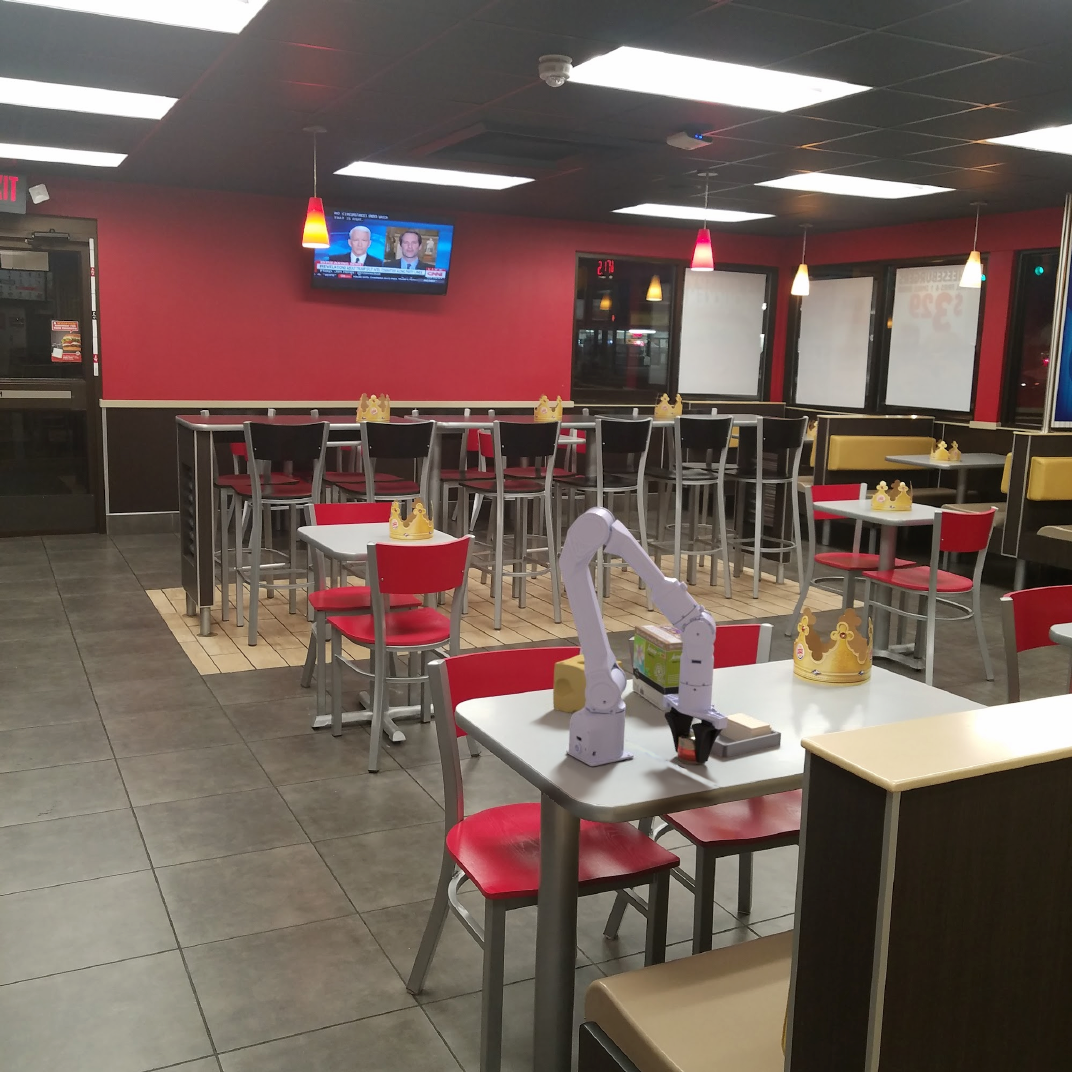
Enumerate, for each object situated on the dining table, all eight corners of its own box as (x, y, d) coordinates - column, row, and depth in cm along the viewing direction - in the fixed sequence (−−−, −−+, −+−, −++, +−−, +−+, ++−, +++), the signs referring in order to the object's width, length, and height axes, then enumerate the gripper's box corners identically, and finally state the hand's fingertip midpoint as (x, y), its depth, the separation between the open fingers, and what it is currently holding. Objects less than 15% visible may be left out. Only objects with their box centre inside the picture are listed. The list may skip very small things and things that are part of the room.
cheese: (593, 721, 205) (595, 671, 204) (549, 709, 212) (551, 661, 210) (622, 708, 214) (624, 661, 212) (578, 697, 220) (580, 651, 218)
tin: (689, 771, 180) (691, 743, 179) (671, 762, 184) (672, 735, 184) (711, 766, 183) (712, 739, 182) (692, 757, 187) (693, 730, 186)
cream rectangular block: (750, 747, 191) (752, 729, 190) (720, 734, 197) (721, 716, 197) (770, 743, 193) (771, 724, 193) (739, 730, 200) (740, 712, 200)
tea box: (630, 691, 226) (633, 624, 224) (671, 687, 229) (675, 621, 227) (662, 712, 212) (666, 641, 210) (706, 708, 215) (710, 638, 213)
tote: (724, 761, 185) (725, 745, 185) (682, 742, 194) (683, 727, 194) (780, 748, 193) (781, 733, 192) (737, 731, 202) (738, 716, 201)
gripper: (742, 689, 178) (737, 765, 180) (685, 668, 189) (681, 740, 192) (711, 695, 174) (706, 773, 176) (655, 673, 186) (651, 746, 188)
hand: (691, 756), depth 183 cm, fingers closed on tin, 5 cm apart
